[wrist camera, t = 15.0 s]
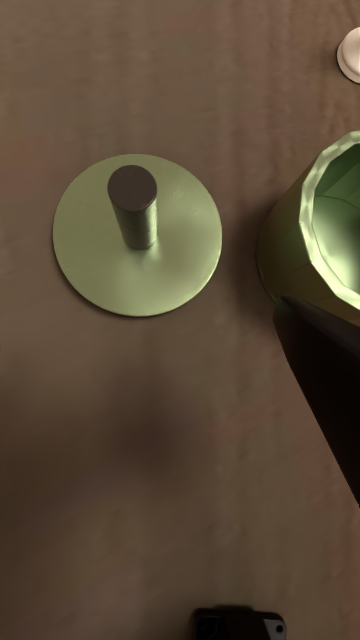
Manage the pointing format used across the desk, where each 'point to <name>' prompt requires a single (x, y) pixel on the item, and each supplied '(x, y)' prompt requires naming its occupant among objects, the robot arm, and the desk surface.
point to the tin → (317, 234)
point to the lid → (137, 235)
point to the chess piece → (350, 55)
